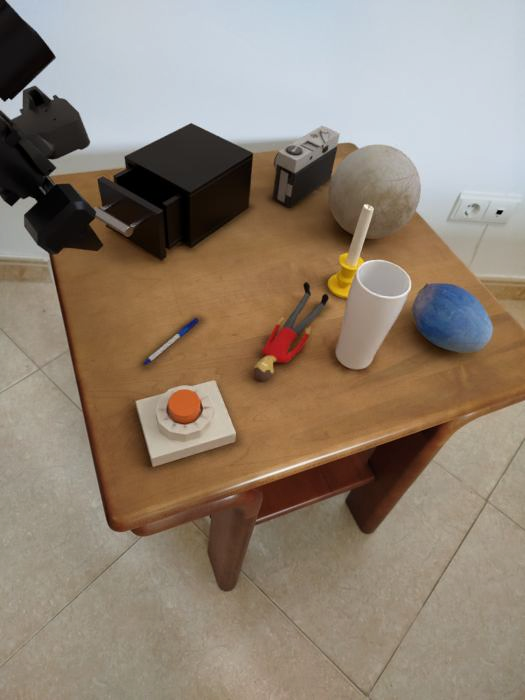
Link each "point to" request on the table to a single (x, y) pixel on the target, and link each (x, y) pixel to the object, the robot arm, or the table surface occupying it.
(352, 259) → the candle
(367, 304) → the drinking glass
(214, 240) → the table surface
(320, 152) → the camera
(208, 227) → the black cabinet
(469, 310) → the egg
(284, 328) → the person figure
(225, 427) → the button block
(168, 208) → the drawer
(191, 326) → the ballpoint pen
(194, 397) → the button
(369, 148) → the decorative sphere
